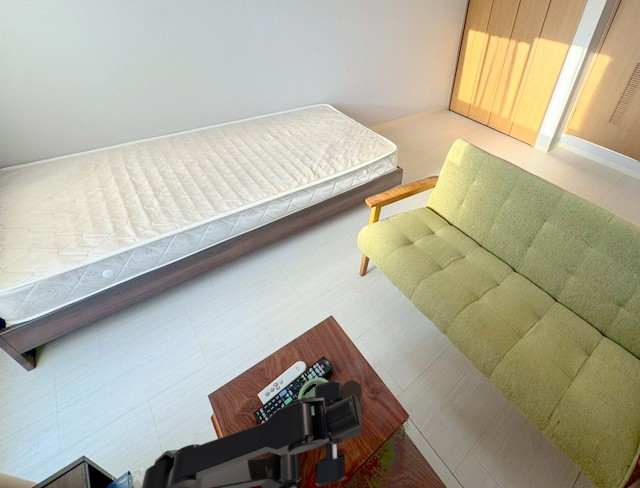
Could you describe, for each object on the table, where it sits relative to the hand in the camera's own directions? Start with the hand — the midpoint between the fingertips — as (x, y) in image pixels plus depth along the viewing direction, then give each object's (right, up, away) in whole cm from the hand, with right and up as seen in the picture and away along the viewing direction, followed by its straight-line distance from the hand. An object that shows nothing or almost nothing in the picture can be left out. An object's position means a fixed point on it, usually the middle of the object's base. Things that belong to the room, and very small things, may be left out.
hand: (340, 426), depth 77 cm
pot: (-10, -3, +14) cm, 17 cm away
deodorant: (0, -6, +13) cm, 14 cm away
